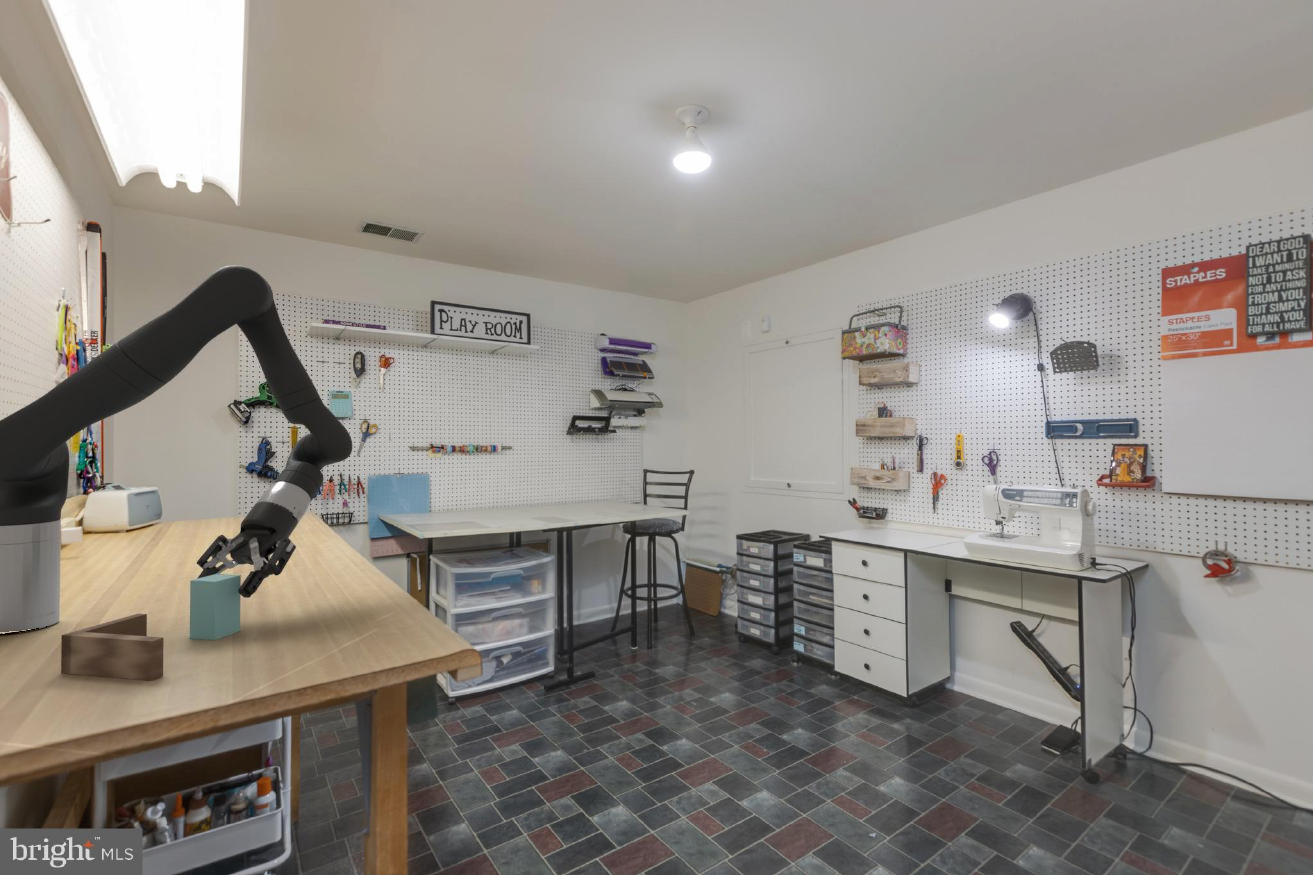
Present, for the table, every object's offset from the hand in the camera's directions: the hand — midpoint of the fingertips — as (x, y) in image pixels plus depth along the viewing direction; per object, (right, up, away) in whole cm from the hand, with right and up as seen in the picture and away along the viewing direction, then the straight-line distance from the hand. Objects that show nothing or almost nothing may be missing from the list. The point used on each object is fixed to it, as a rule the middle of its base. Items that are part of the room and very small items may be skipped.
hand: (219, 593), depth 93 cm
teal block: (0, -6, -1) cm, 6 cm away
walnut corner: (-1, -6, -13) cm, 14 cm away
